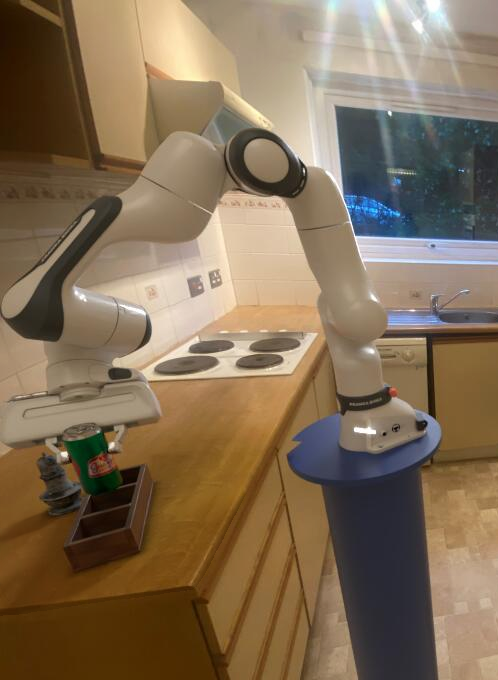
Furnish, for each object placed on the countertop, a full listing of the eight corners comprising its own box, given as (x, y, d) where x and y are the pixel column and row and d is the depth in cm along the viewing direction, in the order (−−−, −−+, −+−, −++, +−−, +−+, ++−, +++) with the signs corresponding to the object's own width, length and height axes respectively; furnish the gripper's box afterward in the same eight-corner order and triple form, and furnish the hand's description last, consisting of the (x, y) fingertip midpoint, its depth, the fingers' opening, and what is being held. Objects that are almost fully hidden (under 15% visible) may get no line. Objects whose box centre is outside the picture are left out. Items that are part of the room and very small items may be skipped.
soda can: (102, 498, 73) (76, 437, 69) (77, 495, 74) (50, 434, 70) (131, 481, 78) (108, 422, 73) (108, 478, 79) (83, 419, 74)
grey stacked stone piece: (80, 493, 87) (56, 441, 82) (95, 501, 84) (71, 448, 80) (40, 510, 82) (13, 455, 77) (55, 520, 79) (27, 464, 75)
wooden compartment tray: (153, 483, 90) (146, 462, 88) (140, 552, 72) (130, 528, 70) (102, 496, 86) (93, 475, 84) (74, 572, 68) (62, 547, 66)
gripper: (-13, 390, 69) (-9, 471, 65) (149, 367, 80) (160, 436, 76) (9, 405, 74) (14, 481, 71) (158, 382, 85) (169, 447, 81)
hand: (91, 458), depth 73 cm, fingers closed on soda can, 5 cm apart
